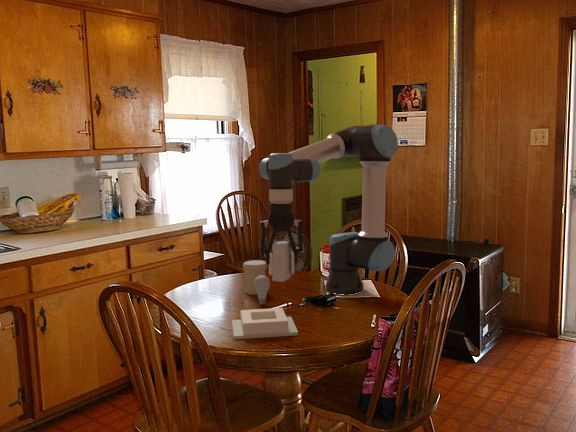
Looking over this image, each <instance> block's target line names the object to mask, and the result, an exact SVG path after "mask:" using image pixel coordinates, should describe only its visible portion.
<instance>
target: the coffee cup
mask: <svg viewBox="0 0 576 432" xmlns="http://www.w3.org/2000/svg"><path fill="white" fill-rule="evenodd" d="M267 265H268V264H266V262H265V260H261V259H259V260H258V259H254V260H253V259H252V260H247V261H244V262H243V264H242V266H243V274H244V275H243V276H244V277H243V278H244V284H245V285H244V286H245V294H248V295H252V296H253V295H255V296H256V295H257V296H258V294H257V291H256V290H255V288H254V280H255V278H256V277H258V276H261V275H263V276H266V277H267Z"/></svg>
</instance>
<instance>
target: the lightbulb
mask: <svg viewBox="0 0 576 432" xmlns="http://www.w3.org/2000/svg"><path fill="white" fill-rule="evenodd" d="M270 286H271V281H270V279H269V277H267V275H266V276H263V275H261V276H258V277H256V278H255V280H254V288H255V290H256V291H257V294H258V295H257V298H258V303H259V305H262V306H263V305H265V304H266V303H267V294H268V291H269V289H270Z"/></svg>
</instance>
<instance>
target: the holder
mask: <svg viewBox="0 0 576 432" xmlns="http://www.w3.org/2000/svg"><path fill="white" fill-rule="evenodd" d="M231 329H232V336H233V340H243V339H259V338H260V339H261V338H276V337H289V336H290V337H291V336H292V337H293V336H299V331H298V328H297V327H296V323H295V322H294V319H293V318H292V316H287V315H286V312H285V311H284V308H283V307H274V308H271V307H270V308H258V309H257V308H256V309H255V308H254V309H241V310H240V319H231Z"/></svg>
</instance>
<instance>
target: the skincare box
mask: <svg viewBox="0 0 576 432" xmlns="http://www.w3.org/2000/svg"><path fill="white" fill-rule="evenodd" d="M271 250H272V253H271V254H272V275H271V276H272V278H271V279H272V281H273V282H286V281H287V280H288V279H290V278H291V276H292V273H291V251H292V247H291V244H290V242H289V240H288V241H287V240H281V241H280V240H278V241H276V242H273V244H272V248H271Z"/></svg>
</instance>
